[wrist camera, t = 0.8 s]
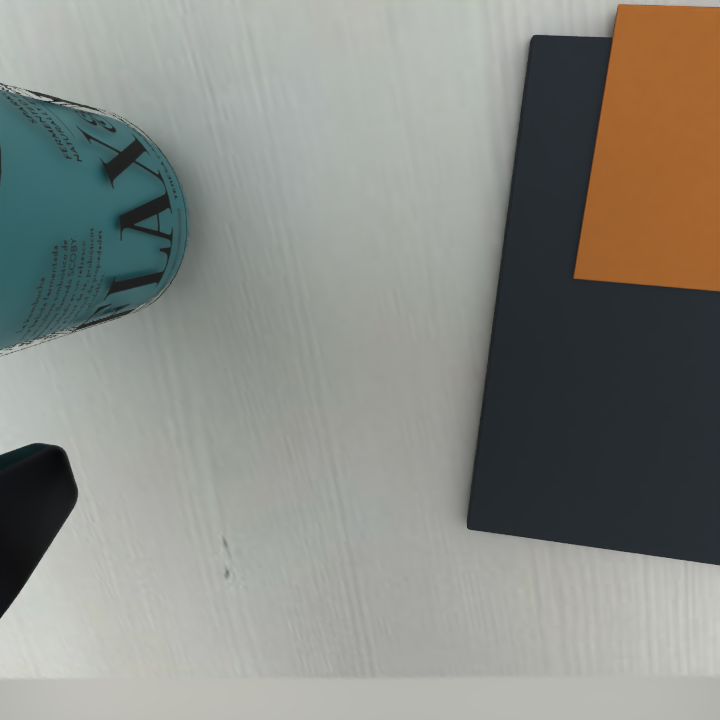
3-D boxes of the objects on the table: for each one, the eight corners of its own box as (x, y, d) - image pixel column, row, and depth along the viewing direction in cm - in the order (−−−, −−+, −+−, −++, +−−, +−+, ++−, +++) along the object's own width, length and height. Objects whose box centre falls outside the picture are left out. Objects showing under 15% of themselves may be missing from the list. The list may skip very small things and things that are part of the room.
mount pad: (822, 571, 20) (834, 584, 20) (466, 521, 22) (467, 531, 21) (995, 23, 16) (1019, 16, 15) (534, 9, 18) (537, 1, 17)
